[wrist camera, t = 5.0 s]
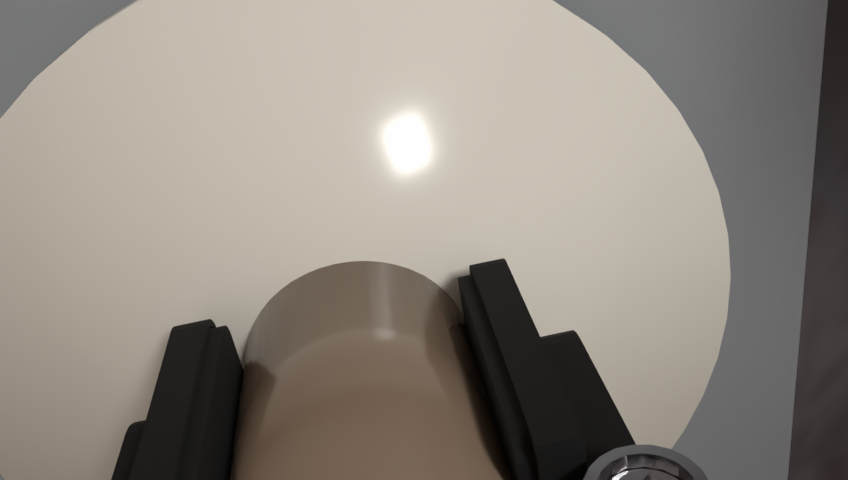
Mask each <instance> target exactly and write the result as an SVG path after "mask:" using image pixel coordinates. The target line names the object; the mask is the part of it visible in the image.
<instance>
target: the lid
mask: <svg viewBox="0 0 848 480" xmlns="http://www.w3.org/2000/svg"><path fill="white" fill-rule="evenodd" d="M502 258H504V259H505V260H506V262H507V264H508V266H509V268H510V271H511V273H512V275H513V277H514V280H515V282H516V284H517V286H518V288H519V291H520V293H521V295H522V297H523V300H524V302H525V304H526V306H527V309H528V311H529V313H530V315H531V317H532V320H533V322H534V324H535V326H536V329H537V331H538V333H539V335H540V337H542V336H547V335H552V334H556V333H561V332H566V331H571V330H574V331H575V332H576V333H577V334H578V336H579V337H580V339H581V341H582V343H583V345H584V346H585V348H586V350H587V352H588V354H589V356H590V358H591V360H592V362H593V364H594V365H595V367H596V369H597V371H598V373H599V375H600V377H601V379H602V381H603V383H604V384H605V386H606V388H607V390H608V392H609V394H610V396H611V398H612V400H613V402H614V403H615V405H616V407H617V409H618V411H619V413H620V415H621V417H622V419H623V421H624V422H625V424H626V426H627V428H628V430H629V432H630V434H631V436H632V438H633V440H634V441H635V443H636V445H655V446H659V447H664V448H668V449H672V447H673V446H674V444H675V443H676V441H677V440H678V439H679V437H680V436H681V434H682V433H683V432H684V430H685V428H686V426H687V425H688V423H689V421H690V419H691V417H692V415H693V413H694V412H695V410H696V408H697V406H698V404H699V402H700V400H701V399H702V397H703V395H704V392H705V390H706V387H707V385H708V382H709V379H710V377H711V374H712V372H713V369H714V366H715V364H716V361H717V358H718V355H719V351H720V346H721V342H722V338H723V334H724V329H725V325H726V321H727V314H728V303H729V292H730V280H731V272H730V256H729V240H728V232H727V227H726V223H725V218H724V214H723V209H722V205H721V200H720V195H719V192H718V189H717V186H716V184H715V181H714V179H713V176H712V174H711V171H710V169H709V166H708V164H707V161H706V158H705V156H704V153H703V151H702V149H701V147H700V146H699V144H698V142H697V140H696V139H695V137H694V135H693V134H692V132H691V130H690V129H689V127H688V125H687V124H686V122H685V120H684V118H683V117H682V115H681V113H680V112H679V110H678V109H677V107H676V106H675V105H674V104H673V103H672V101H671V100H670V99H669V98H668V97H667V95H666V94H665V93H664V92H663V90H662V89H661V88H660V87H659V86H658V84H657V83H656V82H655V81H654V80H653V78H652V77H651V76H650V75H649V74H648V72H647V71H646V70H645V69H644V68H643V67H641V66H640V65H639V64H638V63H637V62H636V61H635V60H633V59H632V58H631V57H630V56H629V55H628V54H627V53H626V52H624V51H623V50H622V49H621V48H620V47H619V46H618V45H617V44H615V43H614V42H613V41H612V40H611V39H610V38H609V37H607V36H606V35H605V34H603V33H602V32H601V31H599V30H598V29H596V28H595V27H593V26H592V25H590V24H589V23H587V22H586V21H585V20H583V19H582V18H580V17H579V16H577V15H576V14H574V13H573V12H571V11H569V10H568V9H566V8H565V7H563V6H562V5H560V4H559V3H557V2H556V1H554V0H132V1H131V2H129V3H128V4H126V5H124V6H123V7H121V8H120V9H118V10H116V11H115V12H113V13H112V14H110V15H108V16H107V17H105V18H104V19H102V20H101V21H100V22H99V23H98V24H96V25H95V26H94V27H93V28H92V29H91V30H89V31H88V32H87V33H86V34H85V35H84V36H82V37H81V38H80V39H79V40H78V41H77V42H76V43H74V44H73V45H72V46H71V47H70V48H69V49H67V50H66V51H65V52H64V53H63V54H62V55H60V56H59V57H58V58H57V59H56V60H55V61H54V62H53V63H51V64H50V65H49V66H48V67H47V68H46V69H45V70H43V71H42V72H41V73H40V74H39V75H38V76H37V77H36V78H34V79H33V81H32V82H31V83H30V84H29V85H28V86H27V88H26V89H25V90H24V91H23V92H22V94H21V95H20V96H19V97H18V98H17V99H16V101H15V102H14V103H13V104H12V105H11V107H10V108H9V109H8V110H7V111H6V112H5V114H4V115H3V116H2V117H1V118H0V474H1V476H2V477H3V478H4V480H111V478H112V475H113V472H114V469H115V466H116V462H117V459H118V456H119V453H120V449H121V446H122V443H123V440H124V436H125V433H126V431H127V429H128V427H129V426H130V425H131V424H132V423H134V422H139V421H143V420H146V417H147V414H148V410H149V407H150V403H151V400H152V396H153V393H154V389H155V386H156V382H157V378H158V375H159V371H160V368H161V364H162V361H163V357H164V354H165V350H166V347H167V343H168V339H169V336H170V332H171V330H172V328H173V327H174V326H178V325H183V324H188V323H193V322H197V321H202V320H207V319H211V320H213V322H214V323H215V325H216V327H220V326H225V325H226V326H227V327H228V328H229V330H230V333H231V335H232V338H233V341H234V344H235V347H236V350H237V353H238V356H239V359H240V362H241V364H242V367H243V377H242V385H241V393H240V401H239V408H238V416H237V424H236V432H235V440H234V447H233V455H232V463H231V471H230V478H229V480H513V478H512V475H511V472H510V469H509V465H508V462H507V459H506V456H505V452H504V449H503V446H502V443H501V439H500V436H499V433H498V430H497V426H496V423H495V420H494V417H493V414H492V410H491V407H490V404H489V401H488V397H487V394H486V391H485V388H484V384H483V381H482V378H481V375H480V371H479V368H478V365H477V362H476V358H475V355H474V352H473V349H472V346H471V342H470V339H469V336H468V333H467V329H466V326H465V321H464V315H463V309H462V303H461V297H460V291H459V285H458V277H461V276H466V275H470V271H469V265H473V264H478V263H483V262H488V261H493V260H497V259H502Z"/></svg>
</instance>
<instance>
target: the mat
mask: <svg viewBox="0 0 848 480" xmlns="http://www.w3.org/2000/svg"><path fill="white" fill-rule="evenodd" d="M131 1H132V0H0V118H1V117H2V116H3V115H4V114H5V112H6V111H7V110H8V109H9V108H10V107H11V105H12V104H13V103H14V102H15V101H16V99H17V98H18V97H19V96H20V95H21V94H22V92H23V91H24V90H25V89H26V88H27V86H28V85H29V84H30V83H31V82H32V81H33V79H34V78H36V77H37V76H38V75H39V74H40V73H41V72H42V71H43V70H45V69H46V68H47V67H48V66H49V65H50V64H51V63H53V62H54V61H55V60H56V59H57V58H58V57H59V56H60V55H62V54H63V53H64V52H65V51H66V50H67V49H69V48H70V47H71V46H72V45H73V44H74V43H76V42H77V41H78V40H79V39H80V38H81V37H82V36H84V35H85V34H86V33H87V32H88V31H89V30H91V29H92V28H93V27H94V26H95V25H96V24H98V23H99V22H100V21H101V20H102V19H104V18H105V17H107V16H108V15H110V14H112V13H113V12H115V11H116V10H118V9H120V8H121V7H123V6H124V5H126V4H128V3H129V2H131ZM554 1H556V2H557V3H559V4H560V5H562V6H563V7H565V8H566V9H568V10H569V11H571V12H573V13H574V14H576V15H577V16H579V17H580V18H582V19H583V20H585V21H586V22H587V23H589V24H590V25H592V26H593V27H595V28H596V29H598V30H599V31H601V32H602V33H603V34H605V35H606V36H607V37H609V38H610V39H611V40H612V41H613V42H614V43H615V44H617V45H618V46H619V47H620V48H621V49H622V50H623V51H624V52H626V53H627V54H628V55H629V56H630V57H631V58H632V59H633V60H635V61H636V62H637V63H638V64H639V65H640V66H641V67H643V68H644V69H645V70H646V71H647V72H648V74H649V75H650V76H651V77H652V78H653V80H654V81H655V82H656V83H657V84H658V86H659V87H660V88H661V89H662V90H663V92H664V93H665V94H666V95H667V97H668V98H669V99H670V100H671V101H672V103H673V104H674V105H675V106H676V107H677V109H678V110H679V112H680V113H681V115H682V117H683V118H684V120H685V122H686V124H687V125H688V127H689V129H690V130H691V132H692V134H693V135H694V137H695V139H696V140H697V142H698V144H699V146H700V147H701V149H702V151H703V153H704V156H705V158H706V161H707V164H708V166H709V169H710V171H711V174H712V176H713V179H714V181H715V184H716V186H717V189H718V192H719V195H720V200H721V205H722V209H723V214H724V218H725V223H726V227H727V232H728V240H729V256H730V272H731V280H730V292H729V303H728V314H727V321H726V325H725V329H724V334H723V338H722V342H721V346H720V351H719V355H718V358H717V361H716V364H715V366H714V369H713V372H712V374H711V377H710V379H709V382H708V385H707V387H706V390H705V392H704V395H703V397H702V399H701V400H700V402H699V404H698V406H697V408H696V410H695V412H694V413H693V415H692V417H691V419H690V421H689V423H688V425H687V426H686V428H685V430H684V432H683V433H682V434H681V436H680V437H679V439H678V440H677V441H676V443H675V444H674V446H673V447H672V450H674V451H676V452H678V453H680V454H682V455H684V456H686V457H688V458H689V459H690V460H692V461H693V462H694V463H695V464H696V465H698V466H699V467H700V468H701V469H702V470H703V472H704V474H705V475H706V477H707V478H708V480H788V469H789V457H790V446H791V434H792V422H793V410H794V398H795V386H796V374H797V362H798V351H799V339H800V327H801V315H802V303H803V291H804V279H805V267H806V255H807V244H808V232H809V220H810V208H811V196H812V184H813V172H814V160H815V148H816V137H817V125H818V113H819V101H820V89H821V77H822V65H823V53H824V42H825V30H826V18H827V6H828V0H554ZM0 480H4V478H3V477H2V476H1V474H0Z"/></svg>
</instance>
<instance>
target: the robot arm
mask: <svg viewBox="0 0 848 480" xmlns="http://www.w3.org/2000/svg"><path fill="white" fill-rule="evenodd" d="M469 271H470V275H466V276H461V277H458V285H459V291H460V297H461V303H462V309H463V315H464V321H465V326H466V329H467V333H468V336H469V339H470V342H471V346H472V349H473V352H474V355H475V358H476V362H477V365H478V368H479V371H480V375H481V378H482V381H483V384H484V388H485V391H486V394H487V397H488V401H489V404H490V407H491V410H492V414H493V417H494V420H495V423H496V426H497V430H498V433H499V436H500V439H501V443H502V446H503V449H504V452H505V456H506V459H507V462H508V465H509V469H510V472H511V475H512V478H513V480H708V478H707V477H706V475H705V474H704V472H703V470H702V469H701V468H700V467H699V466H698V465H696V464H695V463H694V462H693V461H692V460H690V459H689V458H688V457H686V456H684V455H682V454H680V453H678V452H676V451H674V450H672V449H668V448H664V447H659V446H655V445H636V443H635V441H634V440H633V438H632V436H631V434H630V432H629V430H628V428H627V426H626V424H625V422H624V421H623V419H622V417H621V415H620V413H619V411H618V409H617V407H616V405H615V403H614V402H613V400H612V398H611V396H610V394H609V392H608V390H607V388H606V386H605V384H604V383H603V381H602V379H601V377H600V375H599V373H598V371H597V369H596V367H595V365H594V364H593V362H592V360H591V358H590V356H589V354H588V352H587V350H586V348H585V346H584V345H583V343H582V341H581V339H580V337H579V336H578V334H577V333H576V332H575V331H574V330H571V331H566V332H561V333H556V334H552V335H547V336H542V337H540V335H539V333H538V331H537V329H536V326H535V324H534V322H533V320H532V317H531V315H530V313H529V311H528V309H527V306H526V304H525V302H524V300H523V297H522V295H521V293H520V291H519V288H518V286H517V284H516V282H515V280H514V277H513V275H512V273H511V271H510V268H509V266H508V264H507V262H506V260H505V259H504V258H502V259H497V260H493V261H488V262H483V263H478V264H473V265H469ZM242 377H243V367H242V364H241V362H240V359H239V356H238V353H237V350H236V347H235V344H234V341H233V338H232V335H231V333H230V330H229V328H228V327H227V326H226V325H225V326H220V327H216V325H215V323H214V322H213V320H211V319H207V320H202V321H197V322H193V323H188V324H183V325H178V326H174V327H173V328H172V330H171V332H170V336H169V339H168V343H167V347H166V350H165V354H164V357H163V361H162V364H161V368H160V371H159V375H158V378H157V382H156V386H155V389H154V393H153V396H152V400H151V403H150V407H149V410H148V414H147V417H146V420H143V421H139V422H134V423H132V424H131V425H130V426H129V427H128V429H127V431H126V433H125V436H124V440H123V443H122V446H121V449H120V453H119V456H118V459H117V462H116V466H115V469H114V472H113V475H112V478H111V480H229V478H230V471H231V463H232V455H233V447H234V440H235V432H236V424H237V416H238V408H239V401H240V393H241V385H242Z"/></svg>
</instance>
